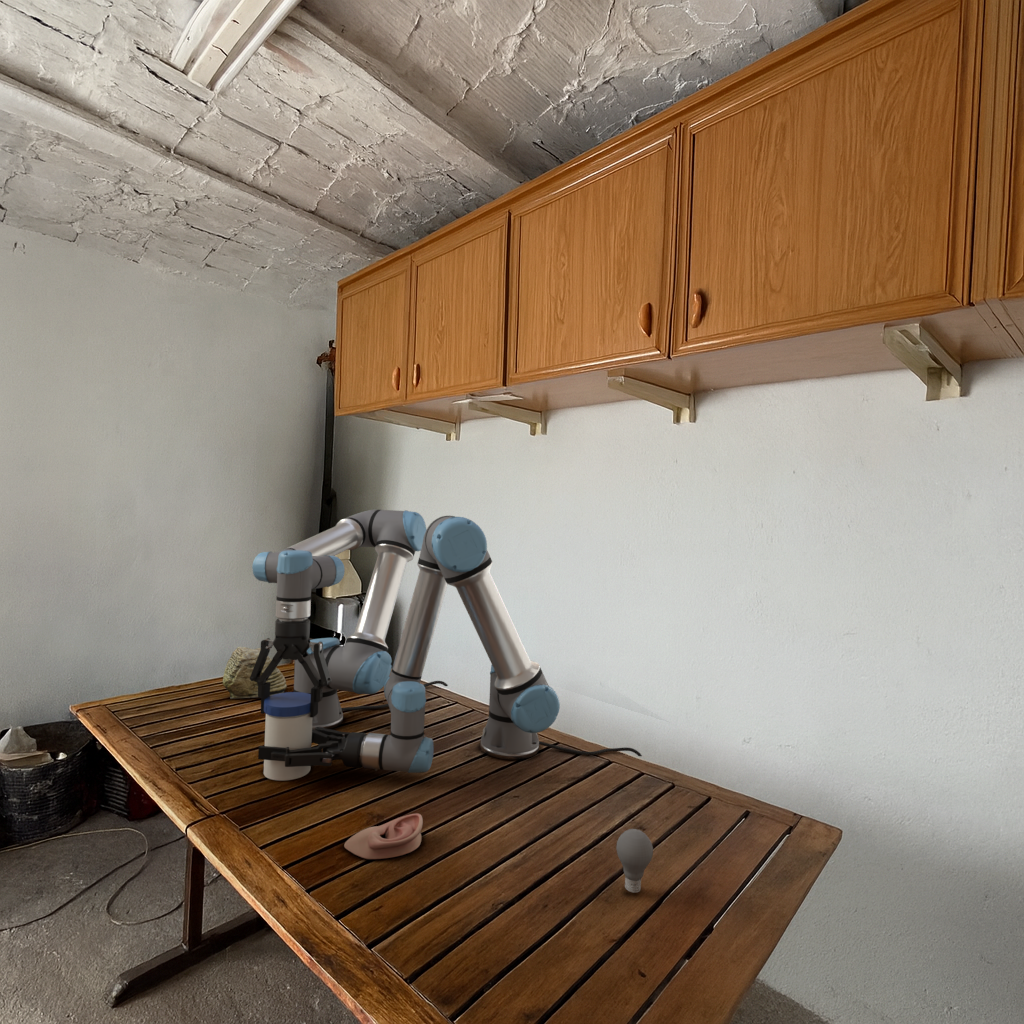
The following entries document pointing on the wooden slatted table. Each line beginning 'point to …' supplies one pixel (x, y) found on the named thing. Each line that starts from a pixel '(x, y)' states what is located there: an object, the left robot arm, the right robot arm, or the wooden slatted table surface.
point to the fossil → (249, 674)
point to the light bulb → (634, 857)
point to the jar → (287, 744)
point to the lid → (287, 704)
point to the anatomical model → (387, 838)
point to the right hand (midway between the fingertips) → (270, 743)
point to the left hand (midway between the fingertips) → (289, 713)
